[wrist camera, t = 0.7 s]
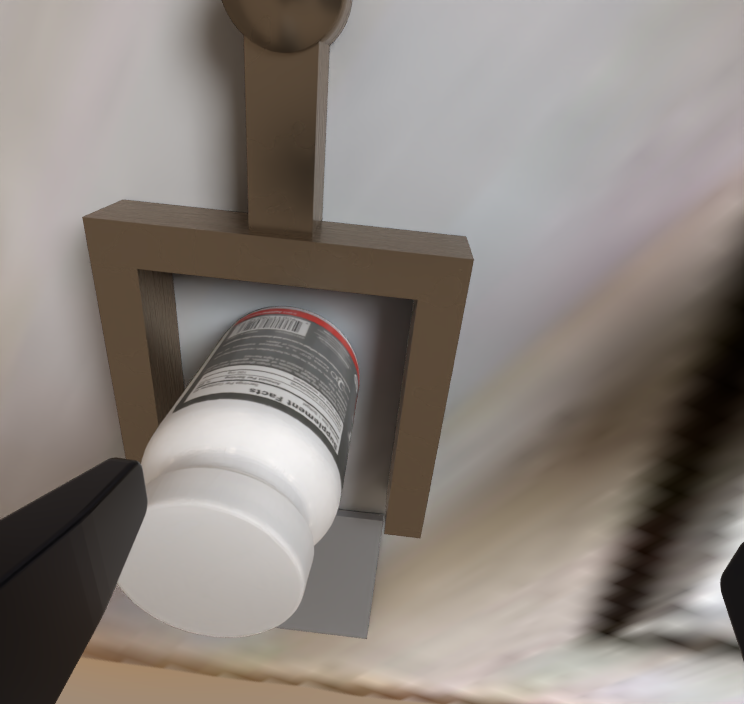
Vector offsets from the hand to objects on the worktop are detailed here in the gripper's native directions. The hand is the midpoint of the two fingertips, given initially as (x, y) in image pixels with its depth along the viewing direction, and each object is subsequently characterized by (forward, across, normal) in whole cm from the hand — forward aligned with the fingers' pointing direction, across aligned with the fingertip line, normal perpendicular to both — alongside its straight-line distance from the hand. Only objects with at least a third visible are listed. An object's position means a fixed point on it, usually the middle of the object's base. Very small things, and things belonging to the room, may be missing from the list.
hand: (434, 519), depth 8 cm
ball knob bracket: (+12, +5, +1) cm, 13 cm away
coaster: (+12, +5, +17) cm, 21 cm away
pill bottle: (+12, +5, +5) cm, 14 cm away
